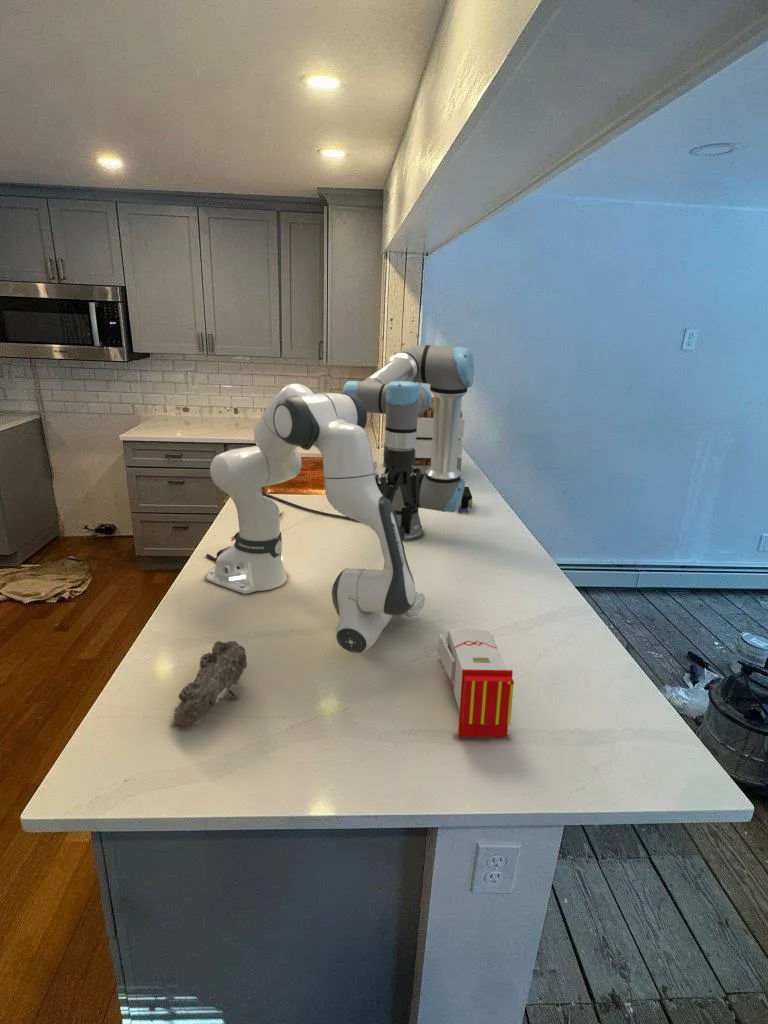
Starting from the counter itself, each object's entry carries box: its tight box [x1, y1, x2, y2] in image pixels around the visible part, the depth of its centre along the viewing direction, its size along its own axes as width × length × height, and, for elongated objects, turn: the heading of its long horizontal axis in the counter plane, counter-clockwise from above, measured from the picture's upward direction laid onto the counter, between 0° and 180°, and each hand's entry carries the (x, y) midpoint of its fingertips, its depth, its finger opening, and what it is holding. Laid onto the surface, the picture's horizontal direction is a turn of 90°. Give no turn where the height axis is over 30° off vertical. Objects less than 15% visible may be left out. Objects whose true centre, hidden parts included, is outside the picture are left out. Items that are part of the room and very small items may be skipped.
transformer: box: [383, 396, 465, 474], centre depth 268 cm, size 34×33×41 cm
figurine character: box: [458, 486, 474, 513], centre depth 227 cm, size 7×8×15 cm
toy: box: [437, 628, 515, 738], centre depth 117 cm, size 12×13×30 cm
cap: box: [398, 525, 405, 541], centre depth 144 cm, size 5×5×2 cm
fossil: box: [173, 640, 248, 727], centre depth 113 cm, size 22×10×15 cm
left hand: (393, 584), depth 149 cm, fingers closed on bottle, 5 cm apart
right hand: (395, 536), depth 144 cm, fingers open, 7 cm apart
